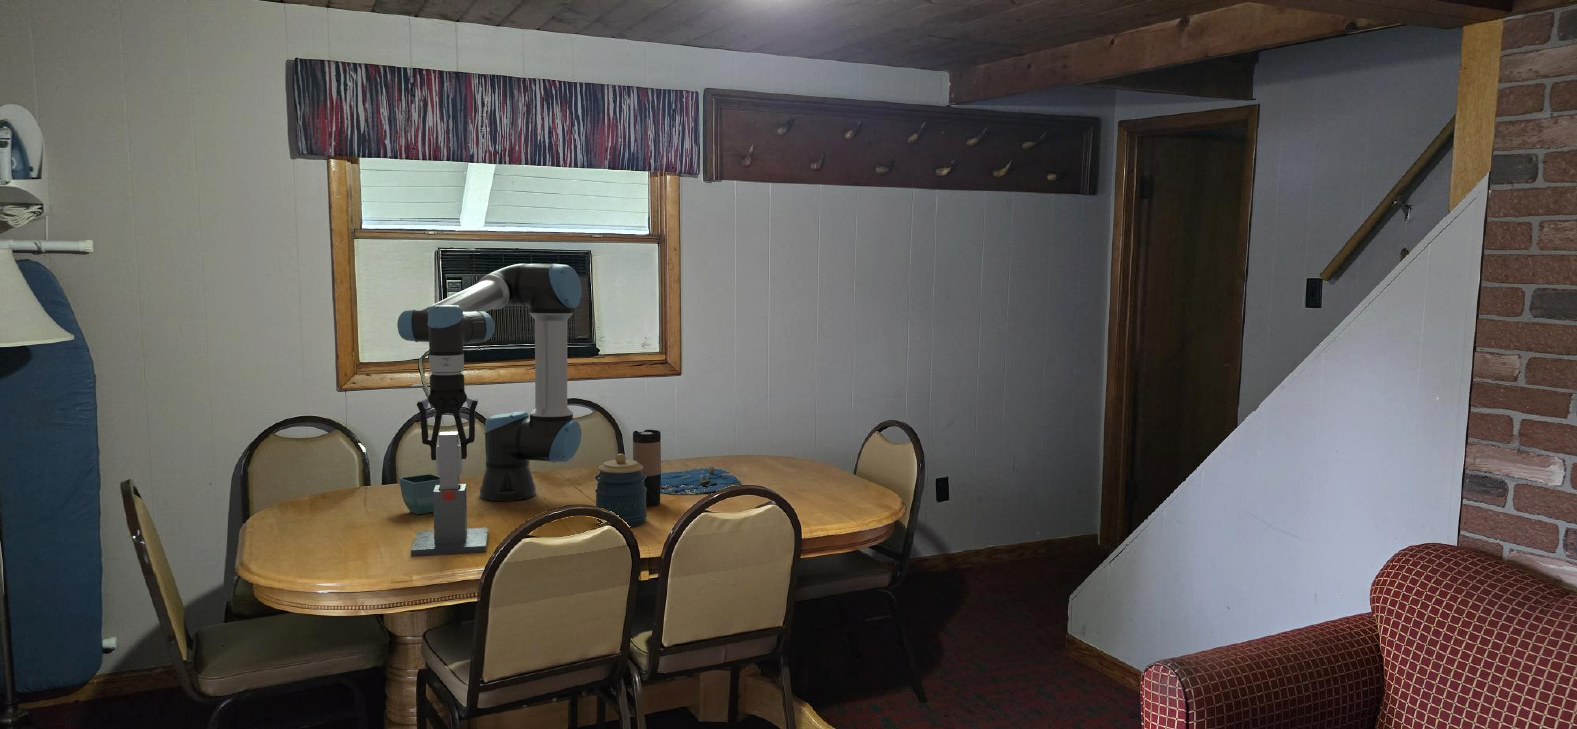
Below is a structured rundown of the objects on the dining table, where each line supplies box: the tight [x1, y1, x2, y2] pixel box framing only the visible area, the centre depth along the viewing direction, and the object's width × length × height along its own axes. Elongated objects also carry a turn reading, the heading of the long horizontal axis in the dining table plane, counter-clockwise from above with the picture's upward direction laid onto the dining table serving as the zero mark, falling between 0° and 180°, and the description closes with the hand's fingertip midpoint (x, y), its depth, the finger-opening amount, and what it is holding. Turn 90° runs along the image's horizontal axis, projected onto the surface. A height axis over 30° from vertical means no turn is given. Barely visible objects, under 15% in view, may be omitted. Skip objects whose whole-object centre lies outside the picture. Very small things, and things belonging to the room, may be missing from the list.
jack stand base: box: [410, 483, 489, 558], centre depth 236 cm, size 16×16×14 cm
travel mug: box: [632, 429, 662, 508], centre depth 276 cm, size 8×8×20 cm
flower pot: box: [398, 473, 440, 515], centre depth 266 cm, size 9×9×9 cm
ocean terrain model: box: [660, 465, 741, 495], centre depth 302 cm, size 30×30×5 cm
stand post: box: [438, 431, 461, 491], centre depth 235 cm, size 4×4×23 cm
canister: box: [594, 453, 648, 528], centre depth 257 cm, size 13×13×18 cm
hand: (449, 473), depth 235 cm, fingers closed on stand post, 4 cm apart
